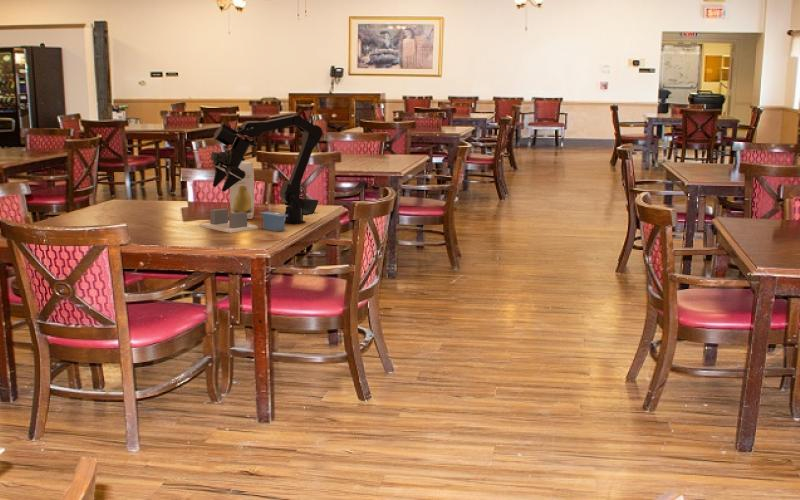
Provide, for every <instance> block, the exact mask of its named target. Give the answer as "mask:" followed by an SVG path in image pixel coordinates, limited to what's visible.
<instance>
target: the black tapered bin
mask: <svg viewBox="0 0 800 500" xmlns="http://www.w3.org/2000/svg"><path fill="white" fill-rule="evenodd" d="M301 199H302V200H303V201H304V202H305V205H304V208H303V216H309V214H310V215H313V213H314V214H315V211H316V208H317V206H318V204H319V200H318V199H309V198H301Z"/></svg>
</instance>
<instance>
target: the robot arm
mask: <svg viewBox="0 0 800 500" xmlns="http://www.w3.org/2000/svg"><path fill="white" fill-rule="evenodd" d="M293 126H294V127H295V128H297V130H299V131H300V132H302V135H301V147H300V149H299V152H298V156H297V157H296V160H295V164H294V166H293V168H292V170H291V171H292V172H291V173H290V177H289V179H288V180H287V181H286V182H285V181H283V182H282V183H281V188H280V189H279V191H278V192H279V197H280V199H281V201H282V202H283V203H284V205H285V211H284V214H286V215H288V217H285V223H286V224H291V225H292V224H293V225H297V224H301V223H302V224H303V223H306V222H307V221H306V220H304V215H303V208H304V205H305V202H304V201H303V200H302V199H303V198H301V197H300V195H301V184H302V180H303V177H304V175H305V171H306V169H307V166H308V164H309V161H310V158H311V155H312V152H313V150H314V148H315V147H316V146H317V145H318V143H319V142H320V140H321V139H322V137H323V128H322V127H321V126H319V125H316V124H313V123H312V122H310V121H308V120H307V119H306V118H304V117H302V116H301V115H300V114H291V115H288V116H283V117H278V118H273V119H267V120H261V121H260V120H247V121H244V122H242V124H241V125H240V126H239V127H237V128H231V127H230V126H228V125H227V124H226V123H221V125H220V126H219V127H218V128H217V129H216V130H215V132H214V134H213V140H215V141H217V142H218V143H221V144H222V145H224V146H225V147H228V146H231V147H230V149H229V150H228V149H227V150H226V152H225V151H222V150H221V151H213V150H212V151H211V154H210V155H211V156H210V160H211V161H212V168H213V169H214V175H213V183H212V187H213V188H216V187H217V186H219V184H220V183H221V182H222V181H223V180H224V179H225V181H224V183H223V186H222V188H221V191H222V192H224V193H225V192H226V191H228V190H230V187H231V186H233V185H234V184H236V183H237V182H238V181H241V179H240V178H242V179H244V177H245V175H246V174H245V172H244V171H243V170H241V169H240V168H238V167H239V165H240V164H241V162H242V161H244V160H245V161H246V158H245V156H246V154H247V152H248V150H249V147H250V146H251V147H252V148H256V142H255V140H254V139H249V138H256V137H258V136H261V135H263V134H265V133H267V132H269V131H275V130H279V129H284V128H288V127H293ZM240 136H243V137H240ZM229 172H230V173H229Z"/></svg>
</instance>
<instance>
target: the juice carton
mask: <svg viewBox="0 0 800 500" xmlns="http://www.w3.org/2000/svg"><path fill="white" fill-rule="evenodd" d="M238 168H240V169H241V170H243V171H244V172H245V174H246V175H245V177H244V179H242V178H240V179H241V181H238V182H237V183H236V184H234V185H233V186H231V187H230V188H229V211H230V213H236V212H246V213H247V220H252V219H253V218H254V212H255V171H254V164H253V161H251V160H246V159H245V160H244V161H242V162H241V164H240V165H239V167H238ZM228 173H230V172H228Z"/></svg>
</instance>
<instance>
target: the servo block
mask: <svg viewBox="0 0 800 500" xmlns="http://www.w3.org/2000/svg"><path fill="white" fill-rule="evenodd" d="M259 215H262V229H263V230H266V231H267V230H268V231H272V232H279V231H285V228H286V227H285V223H286V222H285V217H288V215H286V214H285V213H279V212H273V211H263V212H259Z"/></svg>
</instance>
